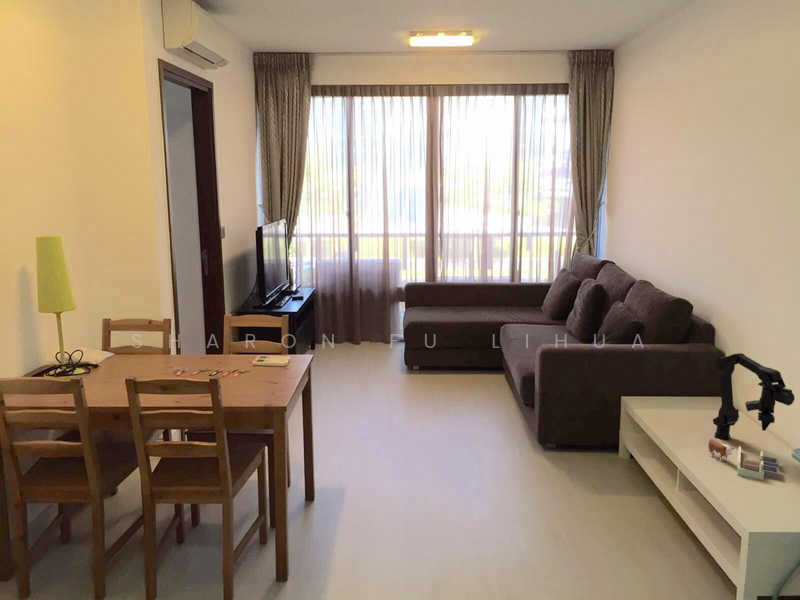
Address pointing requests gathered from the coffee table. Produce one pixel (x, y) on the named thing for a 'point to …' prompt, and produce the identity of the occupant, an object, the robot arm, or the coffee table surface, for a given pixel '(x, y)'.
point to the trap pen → (767, 468)
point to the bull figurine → (719, 449)
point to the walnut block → (751, 465)
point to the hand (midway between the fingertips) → (763, 430)
